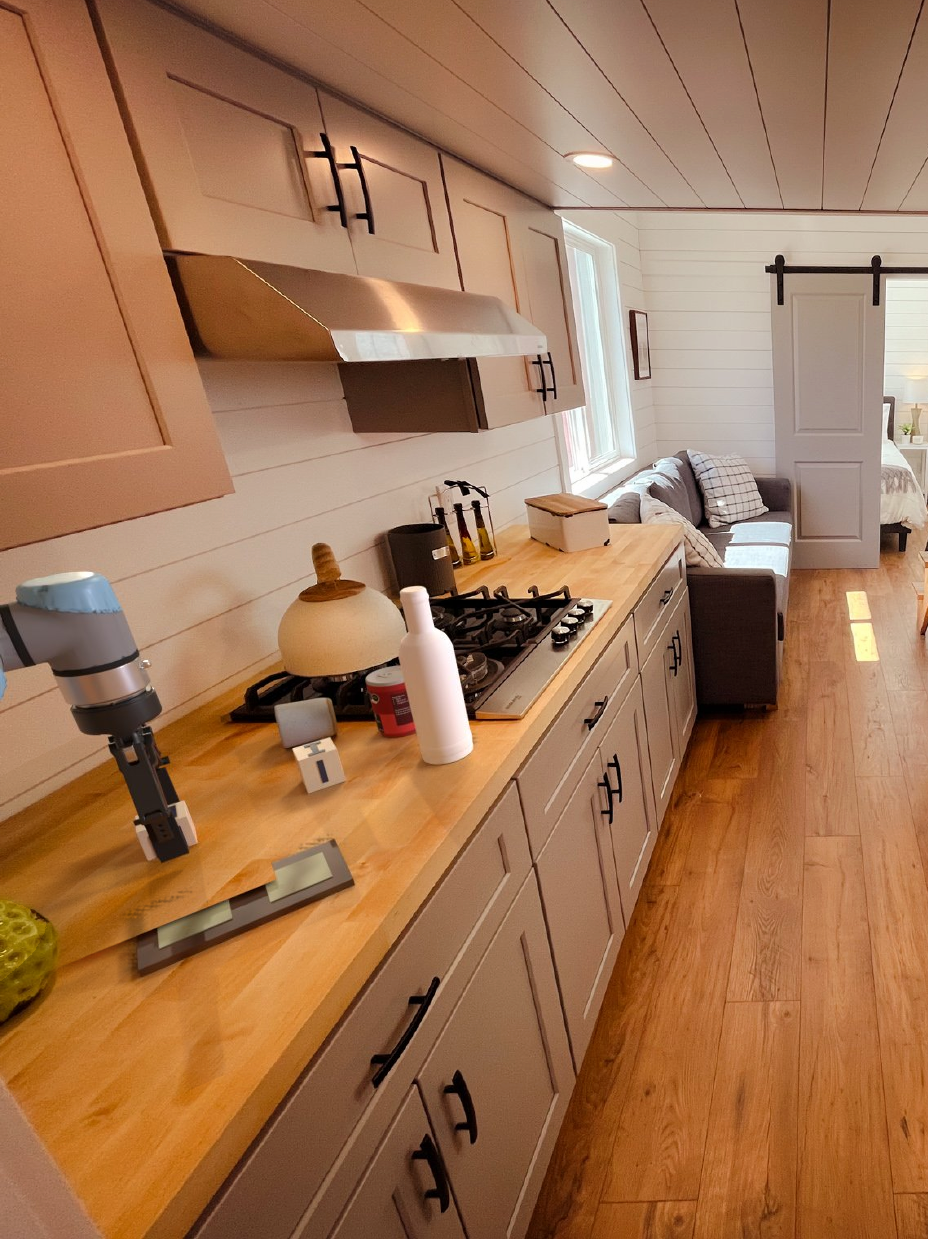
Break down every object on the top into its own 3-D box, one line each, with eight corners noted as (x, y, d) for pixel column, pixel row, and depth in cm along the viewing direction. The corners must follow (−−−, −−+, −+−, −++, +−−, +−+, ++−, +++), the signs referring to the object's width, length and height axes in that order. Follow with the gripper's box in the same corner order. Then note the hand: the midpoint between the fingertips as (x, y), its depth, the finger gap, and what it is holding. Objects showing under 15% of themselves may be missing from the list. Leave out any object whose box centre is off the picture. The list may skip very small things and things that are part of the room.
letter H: (151, 870, 89) (135, 832, 87) (149, 851, 93) (134, 815, 91) (201, 852, 93) (186, 815, 91) (198, 835, 96) (184, 799, 94)
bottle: (425, 771, 112) (385, 600, 101) (419, 750, 118) (380, 587, 107) (478, 755, 116) (445, 591, 106) (469, 736, 122) (437, 578, 112)
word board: (141, 977, 74) (137, 970, 74) (137, 922, 81) (134, 915, 81) (355, 884, 87) (353, 878, 87) (336, 844, 95) (334, 837, 94)
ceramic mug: (342, 739, 120) (332, 701, 118) (285, 755, 115) (272, 716, 113) (335, 718, 128) (325, 681, 125) (281, 732, 123) (269, 694, 120)
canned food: (389, 719, 128) (376, 666, 124) (435, 715, 129) (423, 663, 125) (370, 740, 121) (356, 684, 117) (419, 736, 122) (406, 681, 118)
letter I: (308, 794, 105) (297, 760, 103) (302, 780, 109) (291, 748, 107) (346, 781, 109) (336, 748, 107) (339, 768, 112) (329, 736, 110)
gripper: (157, 719, 79) (217, 863, 86) (148, 656, 95) (200, 782, 103) (63, 744, 74) (136, 895, 81) (71, 672, 90) (131, 804, 98)
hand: (172, 832), depth 92 cm, fingers open, 13 cm apart
